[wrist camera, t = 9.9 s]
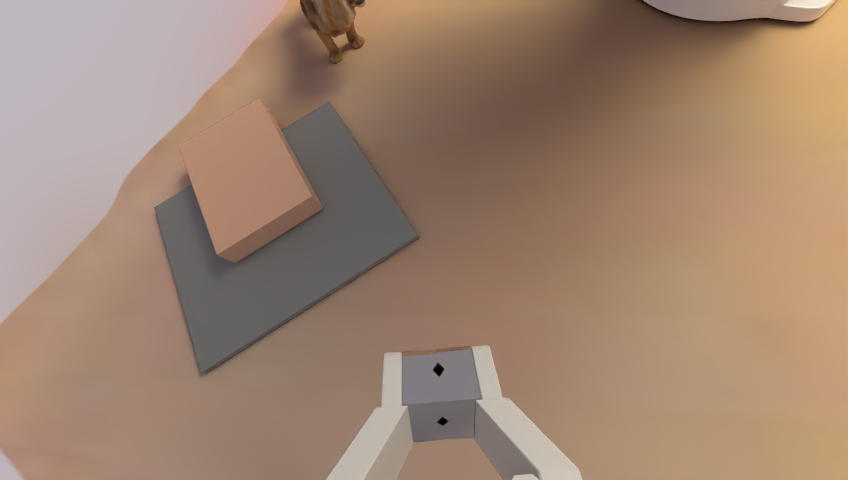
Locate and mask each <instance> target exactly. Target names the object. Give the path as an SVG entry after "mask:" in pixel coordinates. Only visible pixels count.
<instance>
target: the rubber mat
mask: <svg viewBox="0 0 848 480" xmlns="http://www.w3.org/2000/svg"><path fill="white" fill-rule="evenodd" d="M281 131H282V133H283V134H284V136H285V138H286V140H287V142H288V144H289V145H290V147H291V149H292V151H293V153H294V155H295V156H296V158H297V160H298V162H299V164H300V166H301V167H302V169H303V171H304V173H305V175H306V177H307V178H308V180H309V182H310V184H311V186H312V188H313V189H314V191H315V193H316V195H317V197H318V199H319V201H320V202H321V204H322V206H323V209H322V210H320V211H319V212H317V213H315V214H314V215H312V216H310V217H309V218H307V219H306V220H304V221H302V222H301V223H299V224H298V225H296V226H294V227H293V228H291V229H290V230H288V231H286V232H285V233H283V234H282V235H280V236H278V237H277V238H275V239H274V240H272V241H270V242H269V243H267V244H266V245H264V246H262V247H261V248H259V249H257V250H256V251H254V252H253V253H251V254H249V255H248V256H246V257H245V258H243V259H241V260H240V261H238V262H237V263H233V262H231V261H229V260H227V259H225V258H223V257H220V256H218V255H217V254H216V251H215V248H214V245H213V242H212V239H211V237H210V234H209V231H208V228H207V225H206V222H205V220H204V217H203V214H202V211H201V208H200V205H199V203H198V200H197V197H196V194H195V191H194V188H193V186H192V185H191V186H189V187H187V188H186V189H184V190H183V191H181V192H179V193H178V194H176V195H174V196H173V197H171V198H169V199H168V200H166V201H164V202H163V203H161V204H159V205H158V206H156V207H154V208H155V211H156V215H157V218H158V222H159V226H160V229H161V233H162V236H163V240H164V243H165V247H166V250H167V254H168V257H169V261H170V265H171V268H172V272H173V275H174V279H175V282H176V286H177V289H178V293H179V296H180V300H181V304H182V307H183V311H184V314H185V318H186V321H187V325H188V328H189V332H190V335H191V339H192V342H193V346H194V350H195V353H196V357H197V360H198V364H199V367H200V371H201V373H207V372H209V371H211V370H212V369H214V368H215V367H217V366H218V365H220V364H222V363H223V362H225V361H226V360H228V359H229V358H231V357H233V356H234V355H236V354H237V353H239V352H241V351H242V350H244V349H245V348H247V347H248V346H250V345H252V344H253V343H255V342H256V341H258V340H259V339H261V338H263V337H264V336H266V335H267V334H269V333H270V332H272V331H274V330H275V329H277V328H278V327H280V326H281V325H283V324H285V323H286V322H288V321H289V320H291V319H292V318H294V317H296V316H297V315H299V314H300V313H302V312H303V311H305V310H307V309H308V308H310V307H311V306H313V305H314V304H316V303H318V302H319V301H321V300H322V299H324V298H325V297H327V296H329V295H330V294H332V293H333V292H335V291H336V290H338V289H340V288H341V287H343V286H344V285H346V284H347V283H349V282H351V281H352V280H354V279H355V278H357V277H358V276H360V275H362V274H363V273H365V272H366V271H368V270H369V269H371V268H373V267H374V266H376V265H377V264H379V263H380V262H382V261H384V260H385V259H387V258H388V257H390V256H391V255H393V254H395V253H396V252H398V251H399V250H401V249H402V248H404V247H406V246H407V245H409V244H410V243H412V242H413V241H415V240H417V239H418V238H419V236H418V235H417V233H416V232H415V230H414V229H413V227H412V225H411V224H410V222H409V221H408V219H407V218H406V216H405V215H404V213H403V212H402V210H401V209H400V207H399V206H398V204H397V203H396V201H395V200H394V198H393V197H392V195H391V194H390V192H389V191H388V189H387V188H386V186H385V185H384V183H383V182H382V180H381V179H380V177H379V176H378V174H377V173H376V171H375V170H374V168H373V167H372V165H371V164H370V162H369V161H368V159H367V158H366V156H365V155H364V153H363V152H362V150H361V149H360V147H359V146H358V144H357V142H356V141H355V139H354V138H353V136H352V135H351V133H350V132H349V130H348V129H347V127H346V126H345V124H344V123H343V121H342V120H341V118H340V117H339V115H338V114H337V112H336V111H335V109H334V108H333V106H332V105H331V103H330V102H328V103H326V104H324V105H323V106H321V107H319V108H318V109H316V110H314V111H313V112H311V113H309V114H308V115H306V116H304V117H303V118H301V119H300V120H298V121H296V122H295V123H293V124H291V125H290V126H288V127H286V128H285V129H283V130H281Z"/></svg>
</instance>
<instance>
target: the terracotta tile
mask: <svg viewBox="0 0 848 480" xmlns="http://www.w3.org/2000/svg"><path fill="white" fill-rule="evenodd" d="M179 149H180V152H181V155H182V157H183V160H184V163H185V166H186V169H187V171H188V174H189V177H190V180H191V183H192V186H193V188H194V191H195V194H196V197H197V200H198V203H199V205H200V208H201V211H202V214H203V217H204V220H205V222H206V225H207V228H208V231H209V234H210V237H211V239H212V242H213V245H214V248H215V251H216V254H217V255H218V256H220V257H223V258H225V259H227V260H229V261H231V262H233V263H237V262H238V261H240V260H241V259H243V258H245V257H246V256H248V255H249V254H251V253H253V252H254V251H256V250H257V249H259V248H261V247H262V246H264V245H266V244H267V243H269V242H270V241H272V240H274V239H275V238H277V237H278V236H280V235H282V234H283V233H285V232H286V231H288V230H290V229H291V228H293V227H294V226H296V225H298V224H299V223H301V222H302V221H304V220H306V219H307V218H309V217H310V216H312V215H314V214H315V213H317V212H319V211H320V210H322V209H323V206H322V204H321V202H320V201H319V199H318V197H317V195H316V193H315V191H314V189H313V188H312V186H311V184H310V182H309V180H308V178H307V177H306V175H305V173H304V171H303V169H302V167H301V166H300V164H299V162H298V160H297V158H296V156H295V155H294V153H293V151H292V149H291V147H290V145H289V144H288V142H287V140H286V138H285V136H284V134H283V133H282V131H281V129H280V127H279V125H278V123H277V122H276V120H275V118H274V116H273V114H272V113H271V112H270V110H269V109H268V108H267V107H266V105H265V104H264V103H263V102H262V101H261V99H260V98H258V99H256V100H255V101H253V102H251V103H250V104H248V105H246V106H245V107H243V108H241V109H240V110H238V111H236V112H235V113H233V114H231V115H230V116H228V117H226V118H225V119H223V120H221V121H220V122H218V123H216V124H215V125H213V126H211V127H210V128H208V129H206V130H205V131H203V132H201V133H200V134H198V135H196V136H195V137H193V138H191V139H190V140H188V141H186V142H185V143H183V144H181V145H180V146H179Z"/></svg>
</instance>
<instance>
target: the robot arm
mask: <svg viewBox="0 0 848 480" xmlns="http://www.w3.org/2000/svg"><path fill="white" fill-rule="evenodd" d="M643 1H645V2H646V3H648V4H649V5H651V6H653V7H655V8H657V9H659V10H662V11H664V12H667V13H670V14H673V15H676V16H680V17H684V18H689V19H696V20H705V21H733V20H742V19H751V18H773V19H780V20H788V21H812V20H815V19H817V18H819V17H820V16H821V15H823V14H824V13H825V12H826V11H827V10H828V9H829V7H830V6H831V5H832V4H833V3H834V2H835V1H836V0H643ZM443 437H444V438H443ZM458 438H474V440H475V441H476V442H477V444H478V445H479V447H480V448H481V449H482V451H483V452H484V453H485V455H486V456H487V458H488V459H489V460H490V462H491V463H492V465H493V466H494V467H495V469H496V470H497V472H498V473H499V474H500V476H501V477H502V478H503V480H583V479H582V477H581V474H580V471H579V469H578V468H577V467H576V466H575V465H574V464H573V463H572V462H571V461H570V460H569V459H568V458H567V457H566V456H565V455H564V454H563V453H562V452H561V451H560V450H559V449H558V448H557V447H556V446H555V444H554V443H553V442H552V441H551V440H550V439H549V438H548V437H547V436H546V435H545V434H544V433H543V432H542V431H541V430H540V429H539V428H538V427H537V426H536V425H535V424H534V423H533V422H532V421H531V420H530V419H529V418H528V417H527V416H526V415H525V414H524V413H523V412H522V411H521V410H520V409H519V408H518V407H517V406H516V405H515V404H514V403H513V402H512V401H511V400H510V399H509V398H508V397H507V398H503V397H502V393H501V389H500V385H499V381H498V377H497V373H496V369H495V365H494V361H493V357H492V353H491V349H490V347H489V346H488V345H483V346H471V347H470V346H466V347H455V348H444V349H436V350H426V351H407V352H391V353H385V354H384V358H383V373H382V392H381V407H379V408H375V409H374V411H373V412H372V414H371V415H370V416H369V418H368V419H367V421H366V422H365V424H364V425H363V427H362V428H361V430H360V431H359V432H358V434H357V435H356V437H355V438H354V440H353V441H352V443H351V444H350V446H349V447H348V448H347V450H346V451H345V453H344V454H343V456H342V457H341V459H340V460H339V462H338V463H337V465H336V466H335V467H334V469H333V470H332V472H331V473H330V475H329V476H328V478H327V479H326V480H396V479H397V477H398V475H399V473H400V471H401V469H402V467H403V465H404V463H405V461H406V459H407V457H408V455H409V453H410V451H411V449H412V447H413V443H414V442H423V441H432V440H441V439H458Z"/></svg>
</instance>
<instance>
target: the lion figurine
mask: <svg viewBox="0 0 848 480" xmlns="http://www.w3.org/2000/svg"><path fill="white" fill-rule="evenodd" d="M300 4H301V7H302V11H303V12H304V14H305V16H306V18H307V19H308V21H309V22H310V23H311V25H312V27H313V28H314V29H315V30H316V32H317V34H318V36H319V37H320V39H321V40H322V42H323V43H324V45H325V46H326V47H327V49H328V50H329V52H330V57H329V59H330V61H331V62H333V63H338V62H339V61H341V60H342V55H341V51H340V49H339V48H338V47H337V46H336V44H335V43H334V41H333V39H332V37H337V36H339V35H342V34H344V33H345V32H346V35H347V39H348V41H349V43H351V44H352V45H353V46H354V47H355V48H359V47H361V46H362V45H363V43H364V38H363V37H359V36H358V35H357V33H356V31H355V28H354V22H353V21H354V19H355V8H354V7H355V6H358V7H364V6H365V0H300ZM331 36H332V37H331Z"/></svg>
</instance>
